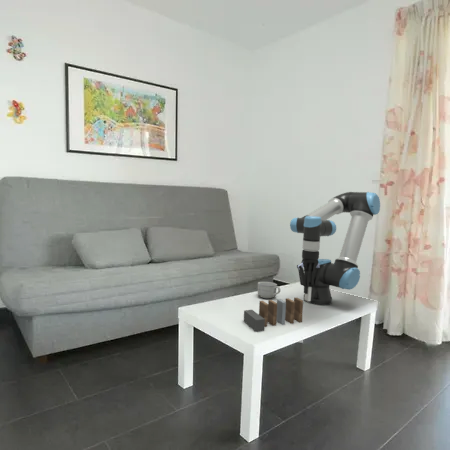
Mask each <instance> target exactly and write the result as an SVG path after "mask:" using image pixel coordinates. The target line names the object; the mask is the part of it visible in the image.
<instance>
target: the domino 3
mask: <svg viewBox="0 0 450 450" xmlns="http://www.w3.org/2000/svg"><path fill="white" fill-rule="evenodd" d="M276 303H277V319H276V323H278V324H280V325H281V326H283V325H286V320H285V313H286V301H284V300H282V299H281V298H277V299H276Z"/></svg>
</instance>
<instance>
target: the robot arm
mask: <svg viewBox="0 0 450 450" xmlns="http://www.w3.org/2000/svg"><path fill="white" fill-rule="evenodd" d="M380 210H381V202H380V197H379V195H378V194H377V193H375V192H371V191H367V192H365V191H364V192H363V191H347V192H343V193H340V194H338V195H336V196H334V197H332V198H330V199H329V200H328V202H327V203H325V204H323V205H322V206H320V207H318V208H316V209H314V210H313V211H311V212H309V213H308V214H305V215H304V216H302V217H293V218H292V219H291V221H290V223H289V226H290V227H289V228H290V230H291V232H294V233H297V234H303V238H302V250H301V258H302V260H301V263H300V264H297V265H296V268H297V270H298V277H299V282H300V285H301V286H302V287H303V293H304V294H303V302H305V303H309V304H312V305H319V306H325V305H326V306H327V305H332V303H333V297H332V294H331V289H330V286H331V287H336V288H339V289H342V290H347V291H349V290H350V291H351V290H353V289H354V288H356V286H357V285H358V283H359V282H360V278H361V271H360V269H359V265H358V264H357V260H358V257H359V253H360V250H361V247H362V244H363V239H364V237H365V234H366V230H367V227H368V223H369V221H371V220H373V217H374V216H377V215H378V214H379V212H380ZM342 213H349V215H350V216H351V219H350V222H349V223H348V228H347V231H346V234H345V237H344V240H343V244H342V247H341V249H340V252H339V253H340V254H339V256H338V257H337V258H335V260H334V263H332V260H331V259H329V258H328V259H327V258H320V256H319V255H320V245H321V244H320V243H321V237H330V236H333V235H334V234H335V233H336V232H337V225H336V223H335V222H334V221H333V220H329V219H330V218H332V217H334V216H335V215H341V214H342Z"/></svg>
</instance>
